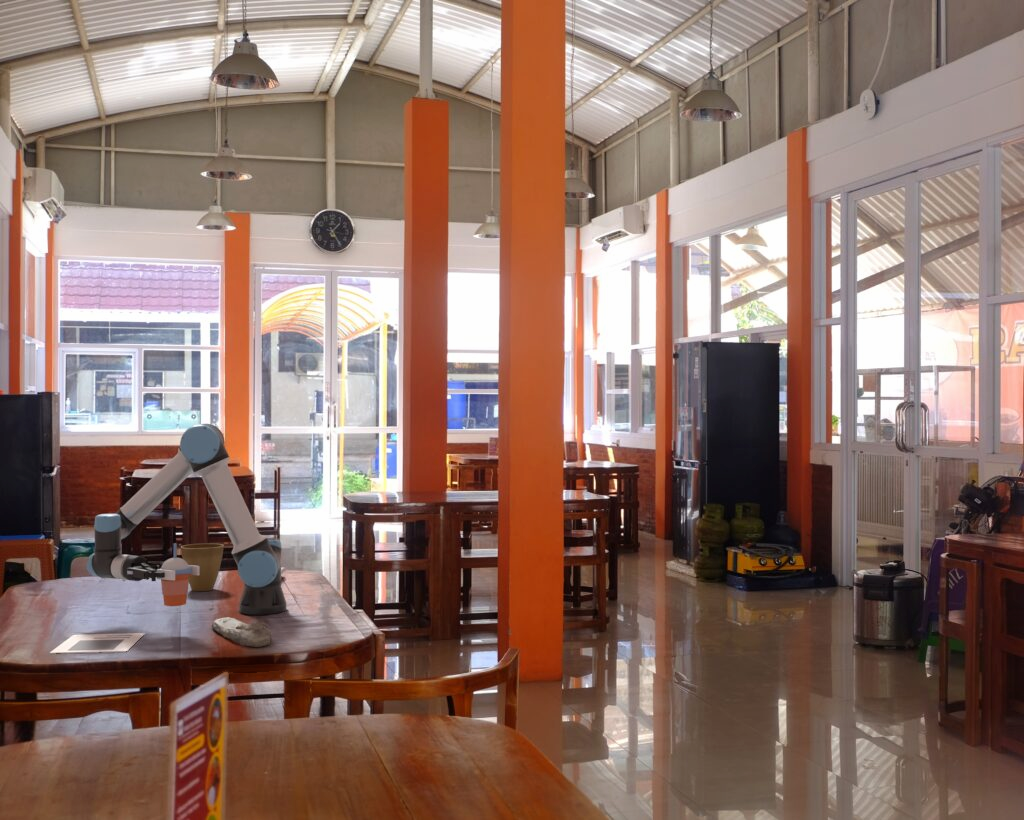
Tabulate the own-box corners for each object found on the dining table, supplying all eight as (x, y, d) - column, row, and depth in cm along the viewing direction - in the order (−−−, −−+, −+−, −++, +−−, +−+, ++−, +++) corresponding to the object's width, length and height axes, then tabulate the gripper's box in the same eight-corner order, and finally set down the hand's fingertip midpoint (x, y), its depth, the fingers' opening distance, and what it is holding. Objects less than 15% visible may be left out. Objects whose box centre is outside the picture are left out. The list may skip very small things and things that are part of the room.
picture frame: (145, 634, 305) (145, 632, 305) (126, 651, 283) (126, 650, 283) (73, 635, 302) (73, 634, 302) (49, 653, 280) (49, 652, 280)
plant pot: (232, 588, 380) (232, 544, 380) (200, 594, 367) (201, 549, 367) (203, 584, 388) (203, 541, 388) (171, 590, 375) (171, 546, 375)
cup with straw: (181, 607, 302) (181, 545, 302) (152, 606, 304) (152, 544, 304) (196, 602, 311) (196, 541, 311) (169, 600, 313) (169, 540, 313)
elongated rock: (236, 629, 320) (204, 634, 314) (234, 611, 320) (202, 617, 314) (281, 644, 291) (247, 651, 285) (280, 625, 291) (246, 632, 285)
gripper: (157, 574, 325) (212, 580, 315) (101, 585, 306) (158, 592, 296) (157, 550, 325) (212, 555, 315) (101, 560, 306) (158, 565, 296)
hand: (186, 573), depth 305 cm, fingers closed on cup with straw, 9 cm apart
